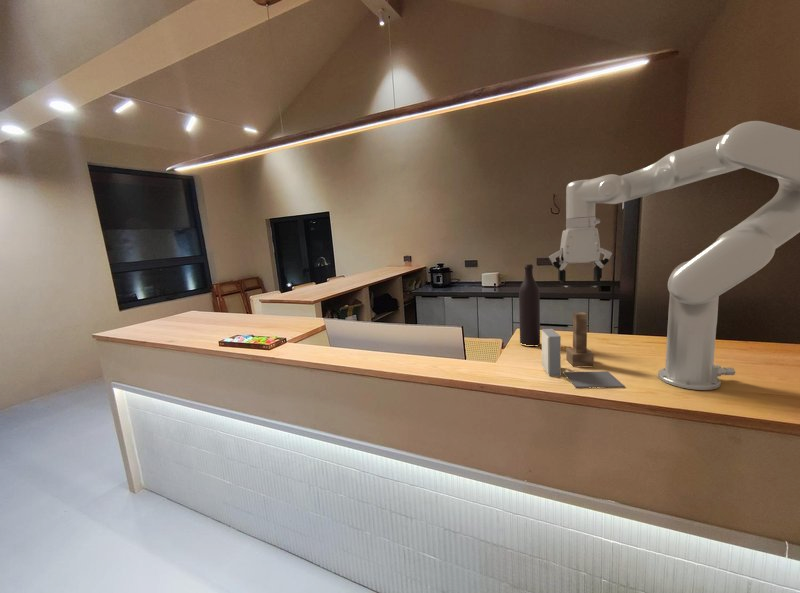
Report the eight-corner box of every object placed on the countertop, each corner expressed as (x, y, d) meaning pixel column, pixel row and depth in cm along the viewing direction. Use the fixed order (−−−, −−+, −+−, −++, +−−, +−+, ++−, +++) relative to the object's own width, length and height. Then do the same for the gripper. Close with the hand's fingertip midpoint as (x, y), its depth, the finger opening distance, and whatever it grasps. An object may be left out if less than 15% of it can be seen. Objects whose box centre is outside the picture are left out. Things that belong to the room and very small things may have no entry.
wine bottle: (543, 343, 129) (542, 263, 124) (535, 348, 124) (534, 265, 119) (524, 340, 134) (523, 263, 129) (516, 345, 129) (515, 265, 124)
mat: (608, 372, 99) (608, 371, 99) (624, 387, 89) (624, 386, 89) (563, 373, 101) (563, 371, 101) (575, 388, 91) (575, 386, 91)
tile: (552, 365, 107) (552, 328, 105) (560, 376, 99) (560, 336, 97) (541, 366, 108) (541, 329, 106) (548, 376, 100) (548, 336, 98)
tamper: (586, 359, 110) (586, 310, 107) (593, 366, 104) (594, 315, 102) (566, 359, 111) (566, 311, 108) (572, 366, 105) (572, 316, 103)
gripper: (606, 222, 103) (605, 278, 106) (545, 227, 106) (546, 281, 109) (618, 221, 96) (616, 282, 99) (552, 226, 98) (552, 285, 101)
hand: (579, 281), depth 104 cm, fingers open, 9 cm apart
